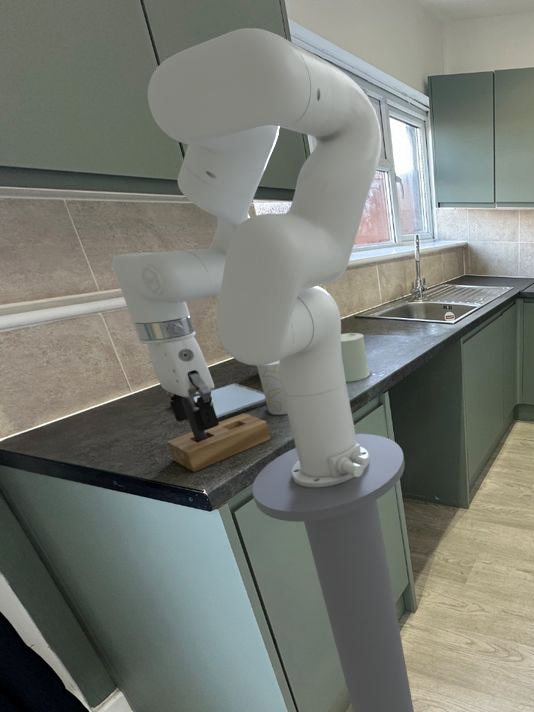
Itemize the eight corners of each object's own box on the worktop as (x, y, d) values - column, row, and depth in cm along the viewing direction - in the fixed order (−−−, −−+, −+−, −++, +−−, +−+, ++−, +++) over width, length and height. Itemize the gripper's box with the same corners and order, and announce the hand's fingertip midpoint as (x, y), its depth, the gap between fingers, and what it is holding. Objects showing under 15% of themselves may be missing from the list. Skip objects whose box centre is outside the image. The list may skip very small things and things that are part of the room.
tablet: (277, 399, 104) (276, 395, 103) (211, 423, 92) (210, 419, 91) (235, 386, 114) (234, 382, 113) (171, 406, 102) (170, 402, 101)
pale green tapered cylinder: (376, 371, 121) (369, 331, 117) (357, 383, 113) (350, 340, 109) (348, 370, 124) (341, 330, 119) (328, 380, 115) (320, 339, 111)
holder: (270, 438, 84) (266, 421, 83) (194, 472, 73) (187, 452, 72) (249, 429, 88) (244, 412, 87) (173, 460, 77) (166, 441, 76)
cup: (260, 413, 96) (247, 364, 92) (286, 399, 104) (274, 353, 99) (290, 415, 94) (278, 365, 90) (314, 401, 102) (303, 354, 97)
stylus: (214, 454, 79) (195, 396, 75) (204, 459, 77) (183, 400, 73) (209, 452, 80) (190, 395, 75) (199, 456, 78) (179, 398, 74)
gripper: (215, 329, 68) (244, 425, 75) (169, 320, 77) (198, 406, 83) (161, 340, 62) (197, 443, 69) (118, 329, 71) (153, 421, 78)
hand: (197, 422), depth 76 cm, fingers open, 7 cm apart
